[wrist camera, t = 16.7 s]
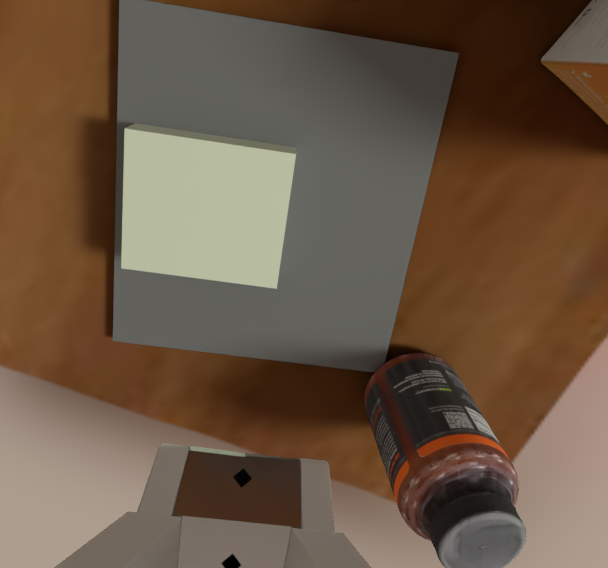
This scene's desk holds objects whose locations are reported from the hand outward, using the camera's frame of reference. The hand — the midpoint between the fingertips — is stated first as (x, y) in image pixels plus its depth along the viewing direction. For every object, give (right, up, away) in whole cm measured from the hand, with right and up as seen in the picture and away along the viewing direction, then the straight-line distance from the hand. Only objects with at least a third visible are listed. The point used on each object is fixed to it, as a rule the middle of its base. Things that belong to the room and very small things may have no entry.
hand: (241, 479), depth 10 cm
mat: (-1, +8, +19) cm, 21 cm away
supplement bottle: (+8, -3, +24) cm, 25 cm away
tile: (0, +7, +18) cm, 20 cm away
